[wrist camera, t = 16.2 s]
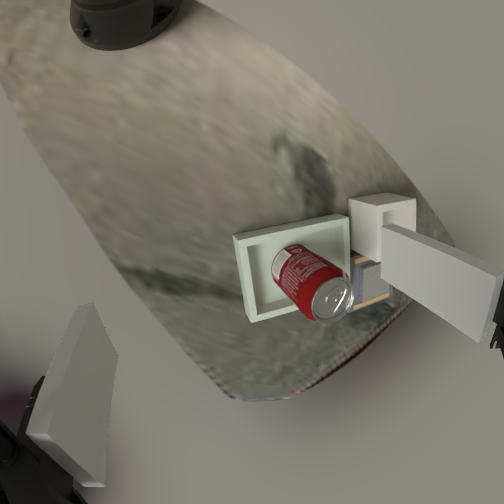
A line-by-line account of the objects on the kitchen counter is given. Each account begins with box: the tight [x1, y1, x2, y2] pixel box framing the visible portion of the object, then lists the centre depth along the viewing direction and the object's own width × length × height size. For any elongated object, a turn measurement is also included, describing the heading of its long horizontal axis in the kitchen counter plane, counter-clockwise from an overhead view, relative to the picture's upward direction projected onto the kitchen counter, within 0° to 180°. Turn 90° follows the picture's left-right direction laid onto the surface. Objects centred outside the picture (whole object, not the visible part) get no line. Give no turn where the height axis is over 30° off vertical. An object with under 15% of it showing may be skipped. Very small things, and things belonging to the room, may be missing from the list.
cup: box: [348, 193, 416, 262], centre depth 40 cm, size 8×8×7 cm
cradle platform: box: [359, 261, 390, 302], centre depth 45 cm, size 6×6×1 cm
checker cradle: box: [348, 252, 393, 313], centre depth 46 cm, size 10×10×1 cm
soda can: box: [271, 244, 355, 324], centre depth 36 cm, size 7×7×12 cm
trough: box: [233, 214, 350, 323], centre depth 40 cm, size 12×16×3 cm
